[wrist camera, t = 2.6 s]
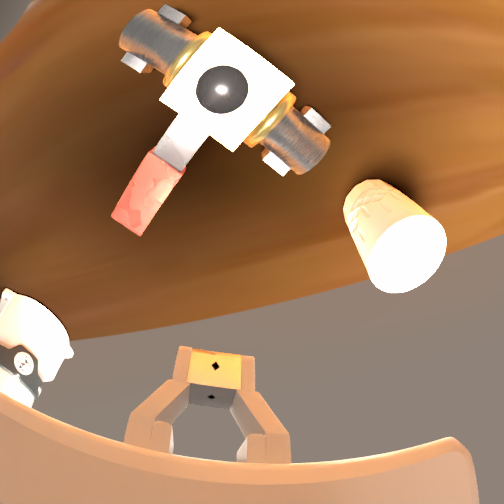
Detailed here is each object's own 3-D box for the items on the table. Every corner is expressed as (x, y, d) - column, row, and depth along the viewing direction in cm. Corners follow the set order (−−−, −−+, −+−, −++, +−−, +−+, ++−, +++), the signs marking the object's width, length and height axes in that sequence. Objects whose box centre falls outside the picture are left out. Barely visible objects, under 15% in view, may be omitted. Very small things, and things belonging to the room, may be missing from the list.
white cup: (411, 190, 29) (460, 234, 20) (380, 244, 33) (414, 300, 24) (357, 162, 27) (401, 201, 19) (325, 224, 31) (351, 282, 23)
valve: (329, 125, 26) (358, 142, 19) (283, 172, 28) (295, 205, 22) (169, 6, 18) (140, -17, 11) (127, 60, 21) (85, 57, 14)
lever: (220, 57, 15) (218, 55, 14) (259, 85, 16) (259, 85, 15) (116, 205, 21) (108, 215, 19) (148, 227, 22) (142, 238, 21)
